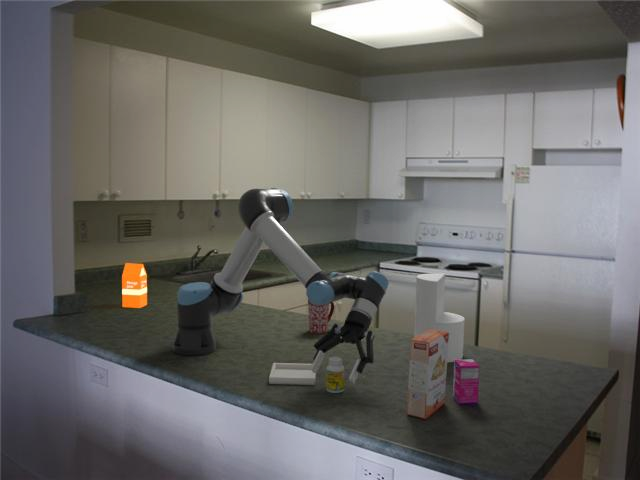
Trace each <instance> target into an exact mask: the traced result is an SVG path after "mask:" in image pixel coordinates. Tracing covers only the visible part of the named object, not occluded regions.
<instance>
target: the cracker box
mask: <svg viewBox="0 0 640 480" xmlns="http://www.w3.org/2000/svg"><path fill="white" fill-rule="evenodd" d="M448 339H449V333H448V332H445V331H439V330H433V329H430V330H428V331H426V332H424V333H423V334H421V335H419V336H417V337H415V338H414V337H413V338H411V339H410V346H409V348H410V351H409V366H408V367H409V368H408V370H409V371H408V388H407V389H408V390H407V404H406V405H407V407H406V415H408V416H412V417H415V418H419V419H424V420H427V419H428V418H429V417H430V416H431V415H433V414H434V413H435V412H437V411H438V409H440V408H441V407H442V406H443V405H445V404H446V403H445V402H446V384H447V371H448V362H447V356H448Z"/></svg>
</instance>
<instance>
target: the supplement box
mask: <svg viewBox="0 0 640 480" xmlns="http://www.w3.org/2000/svg"><path fill="white" fill-rule="evenodd" d="M452 382H453V386H452V387H453V388H452V389H453V390H452V398H453V399H454V400H455V401H456V402H457V404H458V405H459V406H461V405H463V406H468V405H470V406H471V405H474V406H475V405H476V406H477V405H479V392H480V390H479V389H480V388H479V385H480V364H478V363H477V362H476V361H475V360H474V359H473V358H471V359H470V358H469V359H466V358H465V359H461V360H454V362H453V381H452Z"/></svg>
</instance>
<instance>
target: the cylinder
mask: <svg viewBox="0 0 640 480" xmlns="http://www.w3.org/2000/svg"><path fill="white" fill-rule="evenodd" d="M415 279H416V281H415V282H416V284H415V286H416V287H415V303H414V304H415V309H414V310H415V311H414V333H413V334H414V335H413V338H415V337H417V336H419V335H421V334H423V333H424V332H426V331H428V330H430V329H433V330H439V331H445V332H448V333H449V339H448V356H447V363H454V360H463V356H464V337H465V317H464V316H463V315H460V314H457V313H453V312H448V311H447V312H446V311H444V306H445V304H444V303H445V288H446V287H445V285H446V284H445V283H446V282H445V281H446V274H445V273H421V274H417V275H416V278H415Z"/></svg>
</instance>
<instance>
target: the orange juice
mask: <svg viewBox="0 0 640 480" xmlns="http://www.w3.org/2000/svg"><path fill="white" fill-rule="evenodd" d="M147 278H148V275H147V271H146V269H145V266H144V263H128V262H126V263H125V264H124V268H123V271H122V275H121V288H122V290H121V295H122V299H121V300H122V305H121V306H122V308H134V309H141V308H143V307H145V306H147V305H148V279H147Z"/></svg>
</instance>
